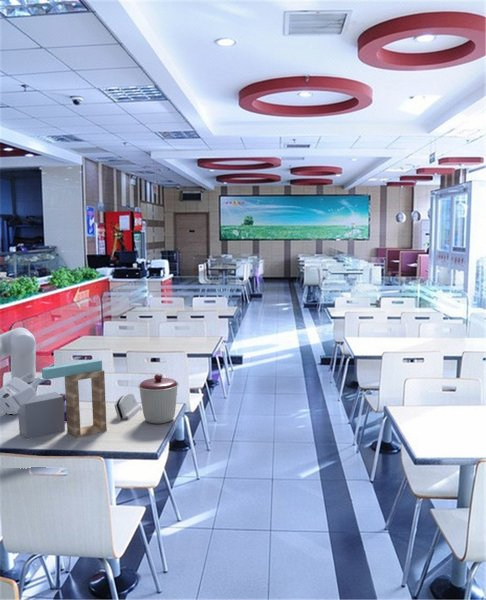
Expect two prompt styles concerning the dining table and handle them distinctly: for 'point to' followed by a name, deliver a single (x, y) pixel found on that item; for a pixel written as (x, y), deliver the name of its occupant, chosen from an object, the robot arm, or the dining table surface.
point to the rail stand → (97, 404)
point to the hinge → (126, 406)
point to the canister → (158, 399)
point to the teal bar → (71, 369)
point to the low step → (42, 416)
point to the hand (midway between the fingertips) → (36, 376)
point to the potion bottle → (64, 406)
